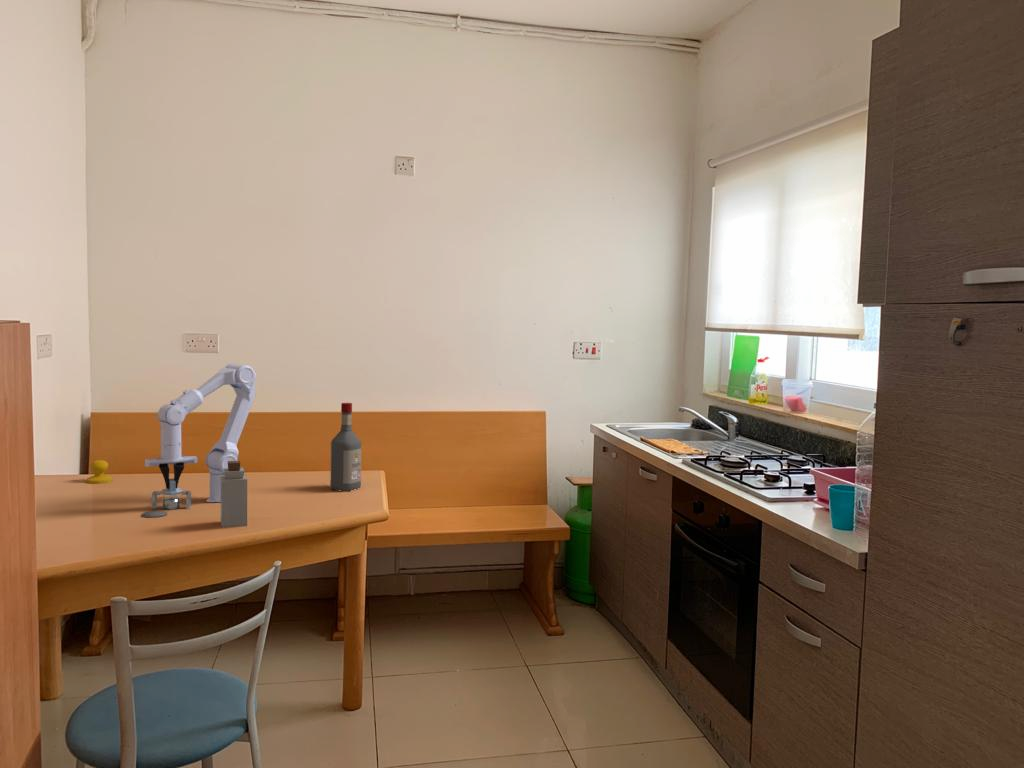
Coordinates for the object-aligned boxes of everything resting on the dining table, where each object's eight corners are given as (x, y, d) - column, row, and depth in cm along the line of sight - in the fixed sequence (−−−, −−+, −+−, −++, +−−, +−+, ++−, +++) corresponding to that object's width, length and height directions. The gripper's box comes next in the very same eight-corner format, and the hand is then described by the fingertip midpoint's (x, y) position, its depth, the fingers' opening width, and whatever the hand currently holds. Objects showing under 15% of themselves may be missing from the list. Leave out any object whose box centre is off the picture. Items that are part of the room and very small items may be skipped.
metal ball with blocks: (191, 505, 245) (191, 489, 245) (188, 509, 240) (188, 493, 240) (154, 506, 243) (154, 490, 243) (150, 510, 238) (150, 494, 238)
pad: (170, 511, 238) (170, 510, 238) (164, 517, 231) (164, 516, 231) (145, 511, 236) (145, 510, 236) (138, 517, 229) (138, 516, 229)
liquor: (364, 487, 278) (365, 403, 275) (347, 492, 269) (348, 405, 267) (343, 484, 282) (344, 401, 279) (326, 489, 274) (327, 403, 271)
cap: (183, 494, 240) (183, 481, 239) (163, 496, 237) (163, 483, 236) (179, 489, 246) (179, 476, 246) (160, 491, 243) (159, 478, 243)
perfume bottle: (220, 521, 228) (220, 460, 227) (245, 519, 231) (245, 459, 229) (221, 527, 222) (221, 464, 220) (247, 525, 225) (247, 463, 223)
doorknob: (117, 480, 277) (96, 484, 270) (102, 478, 280) (81, 482, 273) (117, 459, 276) (96, 463, 269) (101, 457, 280) (81, 460, 273)
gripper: (194, 440, 247) (194, 483, 249) (143, 443, 240) (144, 487, 241) (198, 444, 241) (198, 487, 243) (146, 447, 234) (147, 492, 235)
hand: (171, 487), depth 241 cm, fingers closed on cap, 2 cm apart
